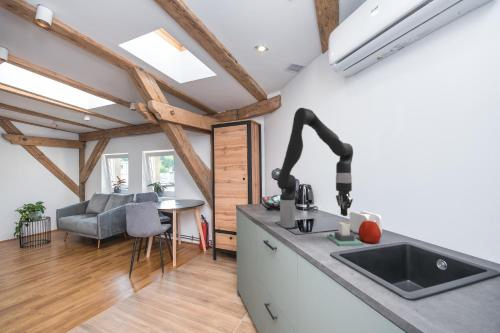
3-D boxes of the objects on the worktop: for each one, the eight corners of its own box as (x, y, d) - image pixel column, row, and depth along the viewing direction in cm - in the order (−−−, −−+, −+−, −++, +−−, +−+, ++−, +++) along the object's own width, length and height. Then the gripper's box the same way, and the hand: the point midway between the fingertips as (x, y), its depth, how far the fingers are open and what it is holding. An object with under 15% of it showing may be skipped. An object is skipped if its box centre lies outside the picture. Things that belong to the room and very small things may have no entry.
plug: (338, 237, 115) (338, 221, 115) (345, 237, 116) (345, 221, 116) (342, 240, 111) (342, 223, 111) (349, 239, 112) (349, 223, 112)
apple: (375, 238, 118) (374, 218, 118) (385, 244, 107) (385, 223, 108) (355, 237, 118) (355, 218, 118) (364, 244, 108) (363, 222, 108)
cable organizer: (348, 230, 133) (348, 210, 133) (363, 229, 135) (363, 210, 135) (366, 237, 118) (366, 216, 118) (383, 236, 120) (383, 215, 120)
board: (327, 236, 120) (327, 230, 120) (348, 236, 121) (348, 229, 121) (339, 245, 106) (339, 238, 106) (363, 245, 107) (363, 237, 107)
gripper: (330, 181, 120) (331, 213, 120) (343, 182, 107) (343, 218, 106) (344, 180, 121) (344, 212, 121) (358, 182, 107) (358, 218, 107)
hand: (344, 215), depth 114 cm, fingers closed
